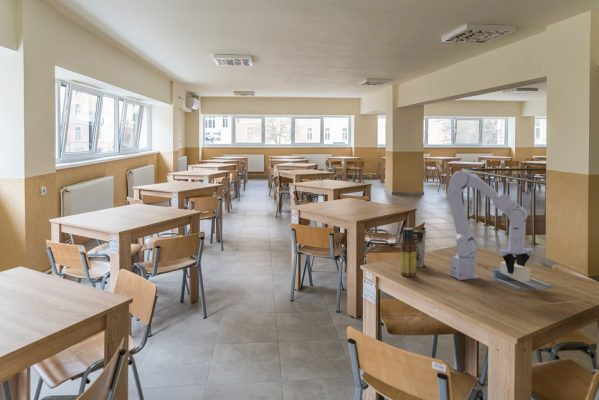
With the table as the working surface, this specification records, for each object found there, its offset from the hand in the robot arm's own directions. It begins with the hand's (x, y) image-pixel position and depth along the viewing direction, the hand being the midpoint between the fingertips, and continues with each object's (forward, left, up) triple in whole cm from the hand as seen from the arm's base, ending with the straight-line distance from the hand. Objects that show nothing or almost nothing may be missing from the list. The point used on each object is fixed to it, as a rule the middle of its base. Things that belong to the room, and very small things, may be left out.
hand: (514, 272), depth 176 cm
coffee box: (-24, +37, -5) cm, 44 cm away
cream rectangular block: (0, 0, -2) cm, 2 cm away
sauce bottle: (-34, +23, -5) cm, 41 cm away
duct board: (+3, 0, -5) cm, 6 cm away
